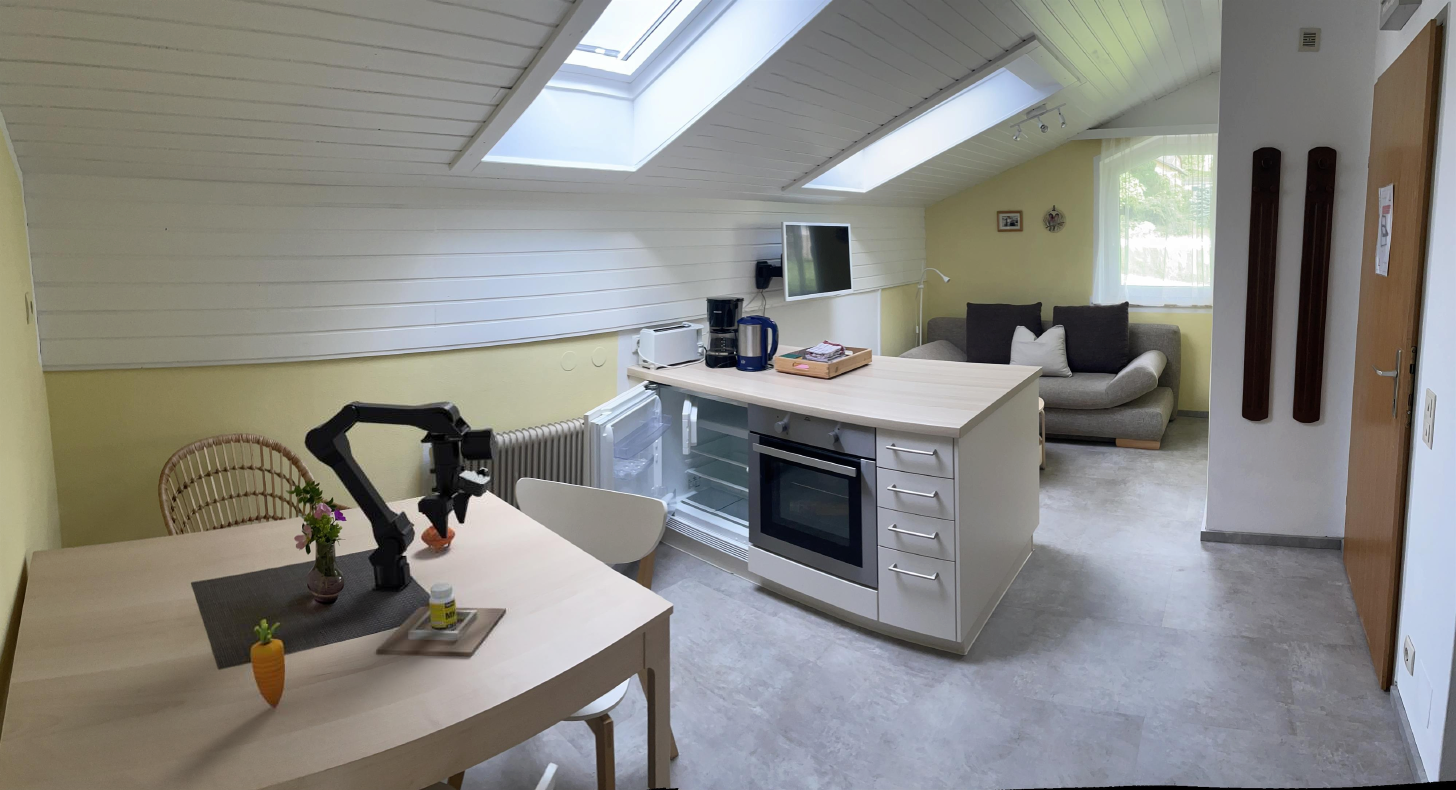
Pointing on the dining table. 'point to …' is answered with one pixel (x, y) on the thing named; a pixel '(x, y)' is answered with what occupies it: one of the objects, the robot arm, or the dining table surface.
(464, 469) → the robot arm
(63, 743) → the dining table surface
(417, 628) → the board
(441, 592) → the supplement bottle
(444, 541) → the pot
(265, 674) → the carrot
